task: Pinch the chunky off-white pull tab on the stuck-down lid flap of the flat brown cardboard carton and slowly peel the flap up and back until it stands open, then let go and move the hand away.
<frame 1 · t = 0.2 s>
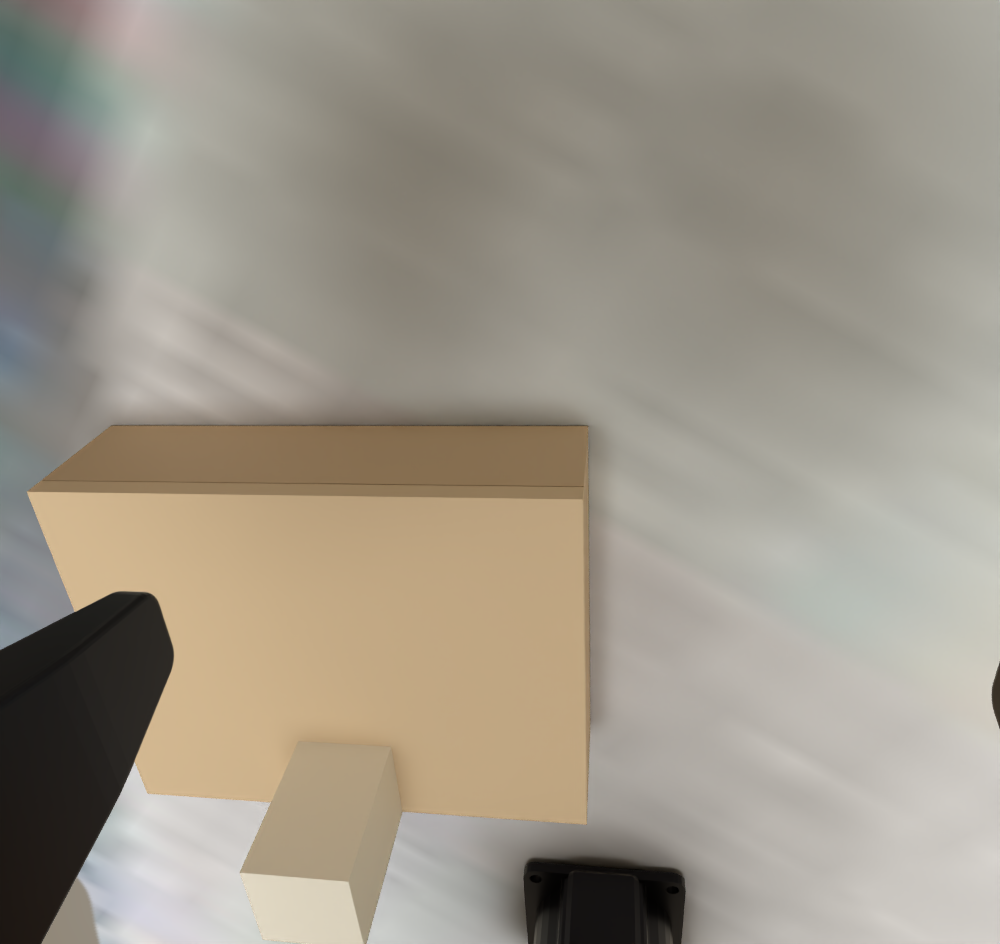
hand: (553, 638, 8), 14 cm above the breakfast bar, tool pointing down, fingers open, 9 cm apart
carton: (367, 585, 27), on the breakfast bar
lid flap: (306, 721, 22), point 6 cm above the breakfast bar, hinge at 0.0°
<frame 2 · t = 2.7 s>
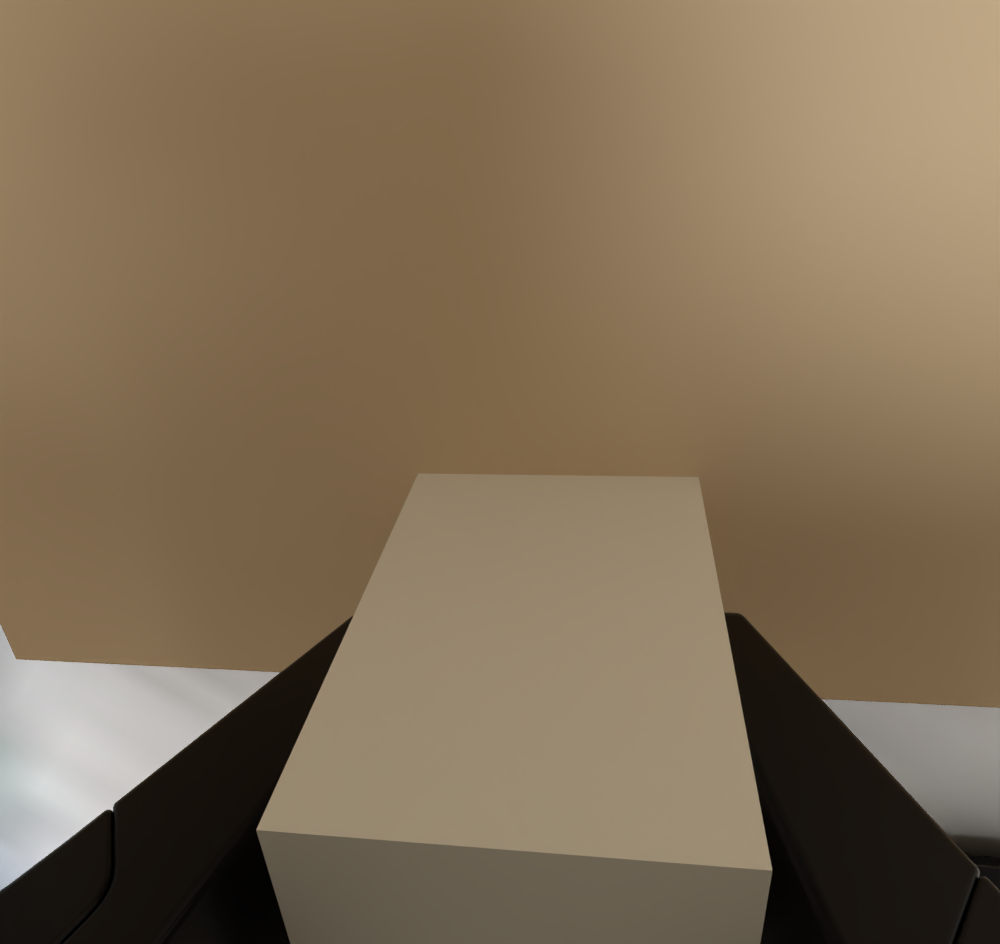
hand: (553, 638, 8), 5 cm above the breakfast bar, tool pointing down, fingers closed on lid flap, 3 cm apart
lid flap: (525, 224, 5), point 6 cm above the breakfast bar, hinge at 0.0°, touching gripper
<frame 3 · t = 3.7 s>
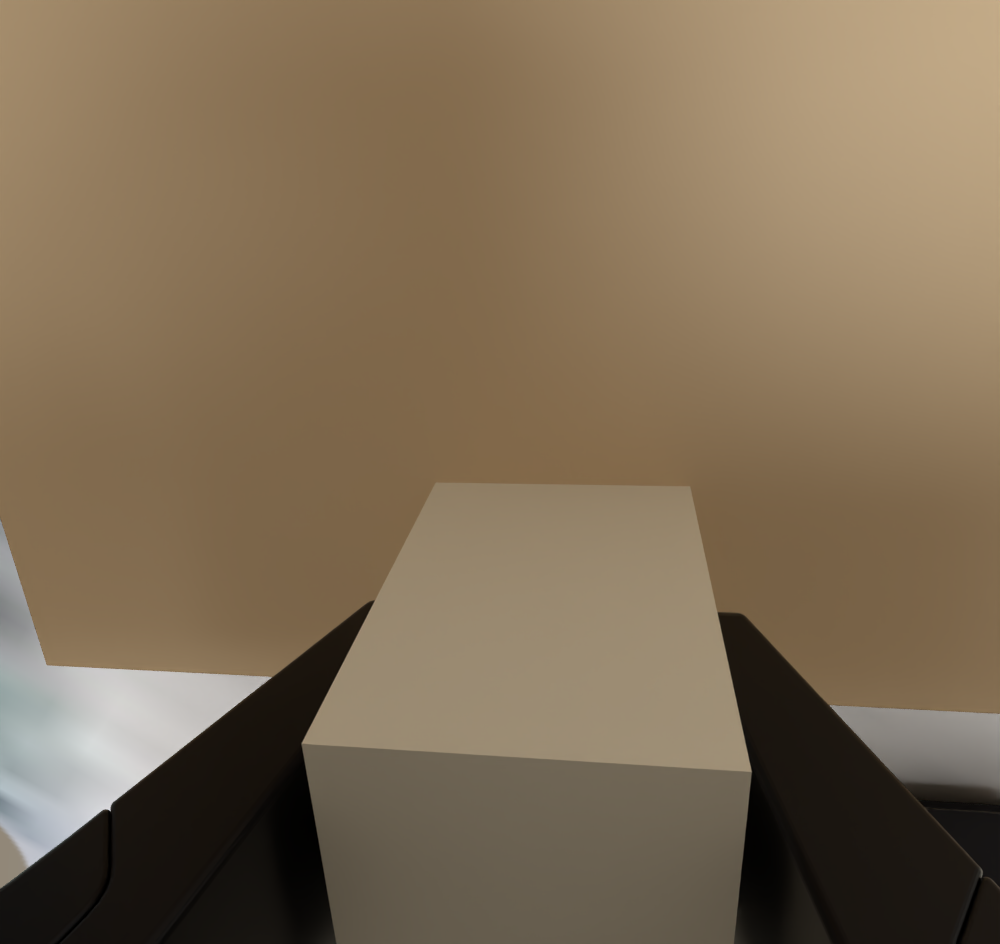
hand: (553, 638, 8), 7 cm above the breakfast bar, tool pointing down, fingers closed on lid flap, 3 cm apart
lid flap: (540, 242, 6), point 7 cm above the breakfast bar, hinge at 6.2°, touching gripper
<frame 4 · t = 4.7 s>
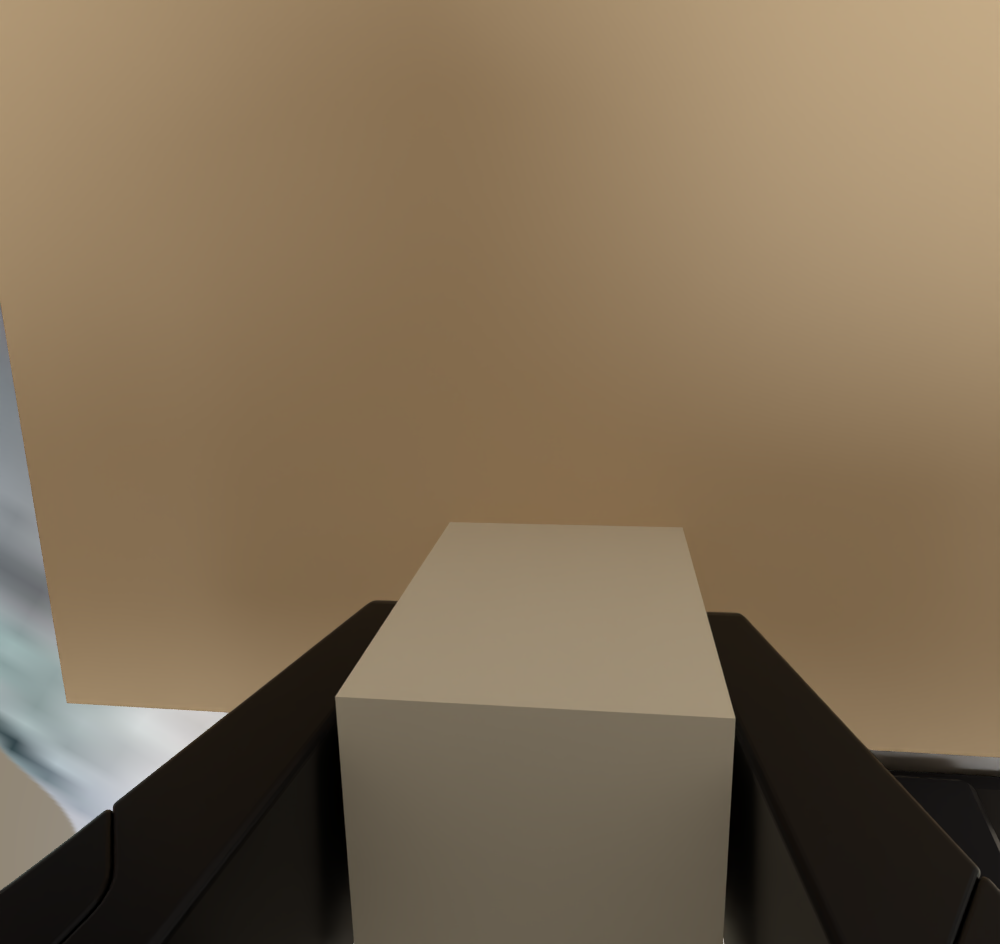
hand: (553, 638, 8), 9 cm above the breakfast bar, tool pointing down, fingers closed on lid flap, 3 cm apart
lid flap: (551, 288, 8), point 8 cm above the breakfast bar, hinge at 15.3°, touching gripper
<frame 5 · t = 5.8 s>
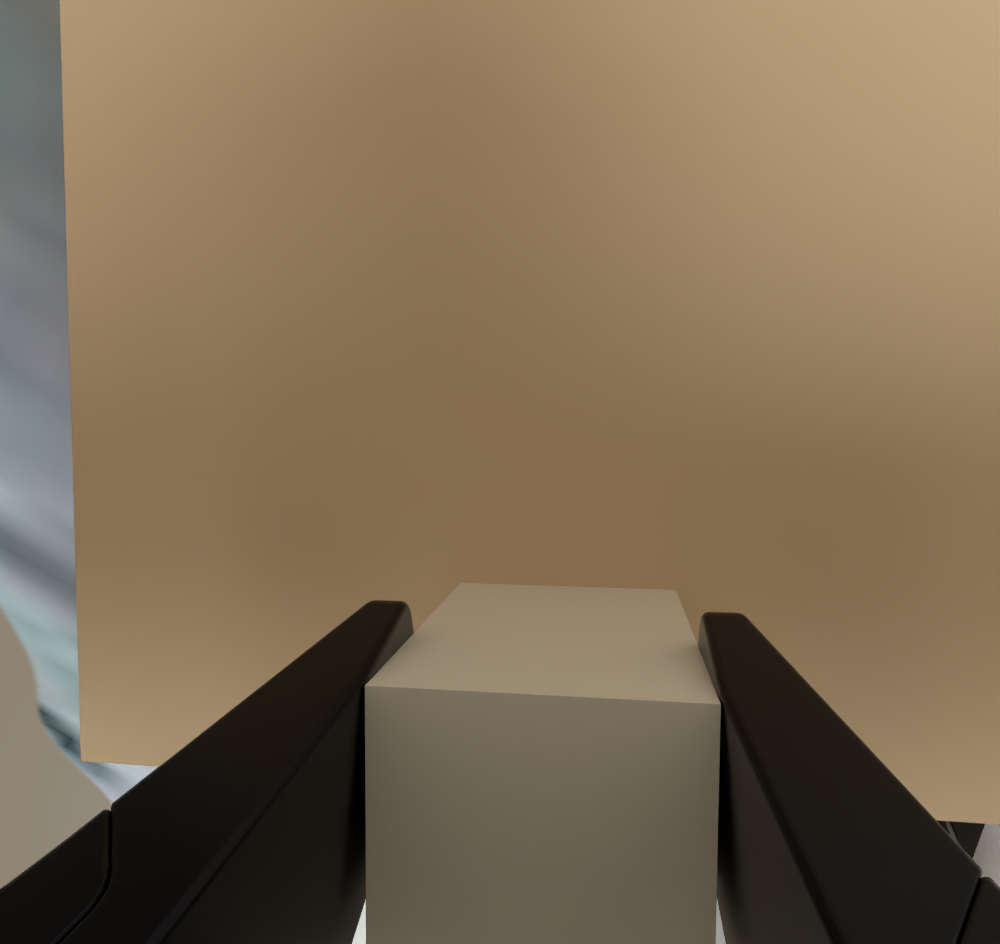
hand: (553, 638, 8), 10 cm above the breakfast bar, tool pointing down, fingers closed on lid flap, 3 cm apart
lid flap: (559, 359, 9), point 8 cm above the breakfast bar, hinge at 25.7°, touching gripper
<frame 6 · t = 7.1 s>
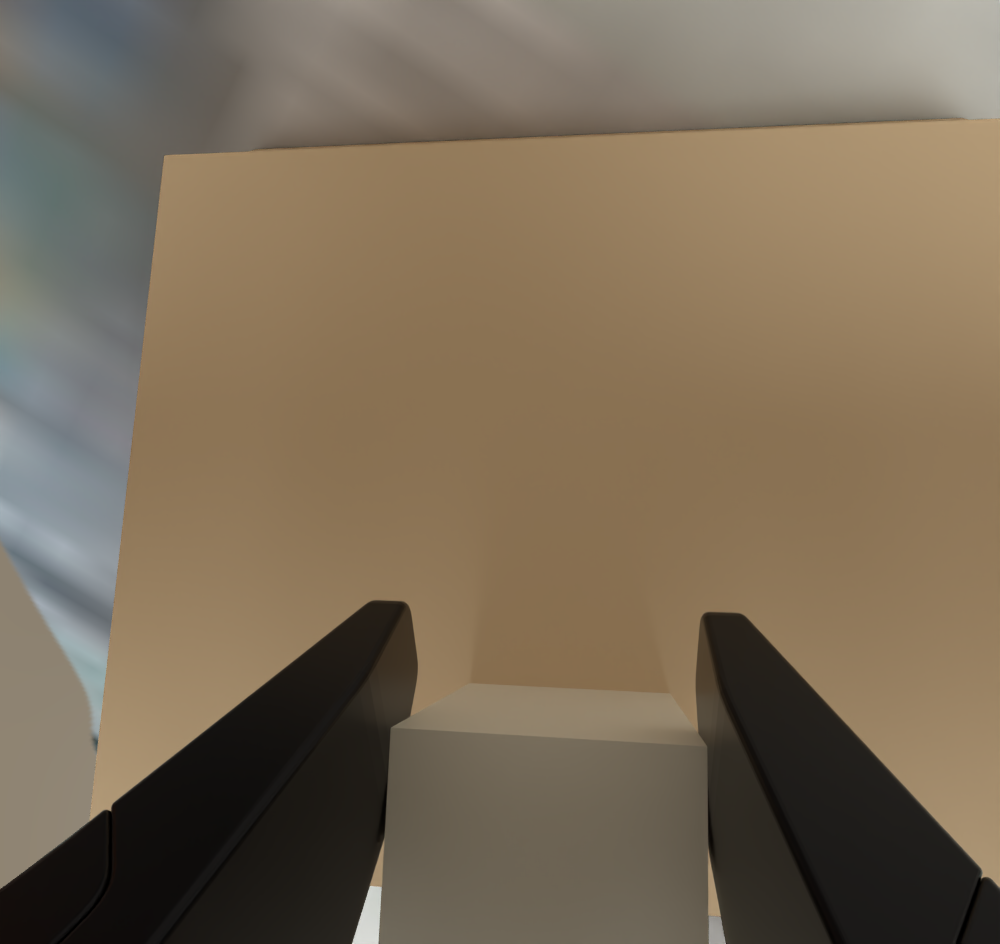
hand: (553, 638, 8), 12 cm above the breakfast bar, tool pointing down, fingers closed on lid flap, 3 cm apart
carton: (587, 392, 20), on the breakfast bar
lid flap: (565, 469, 10), point 9 cm above the breakfast bar, hinge at 38.6°, touching gripper
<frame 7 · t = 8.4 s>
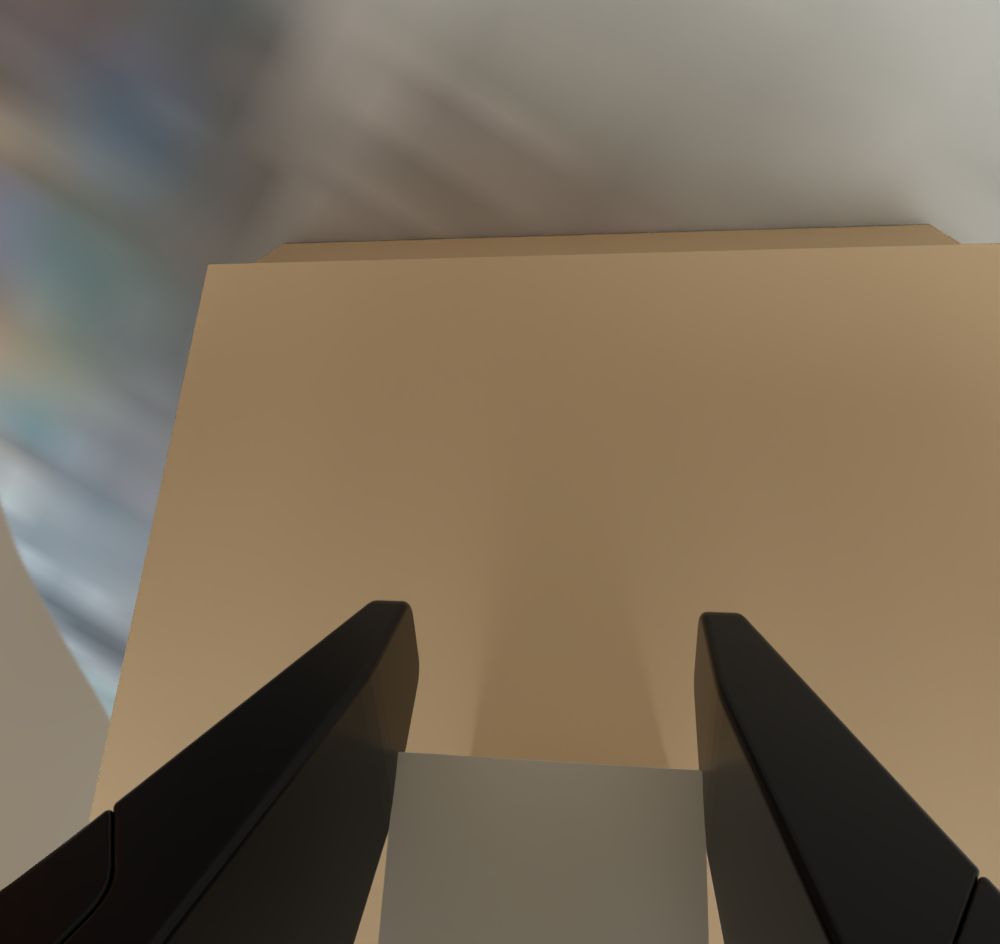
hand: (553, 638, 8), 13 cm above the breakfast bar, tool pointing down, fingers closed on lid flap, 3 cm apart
carton: (589, 460, 21), on the breakfast bar
lid flap: (567, 534, 11), point 10 cm above the breakfast bar, hinge at 48.8°, touching gripper
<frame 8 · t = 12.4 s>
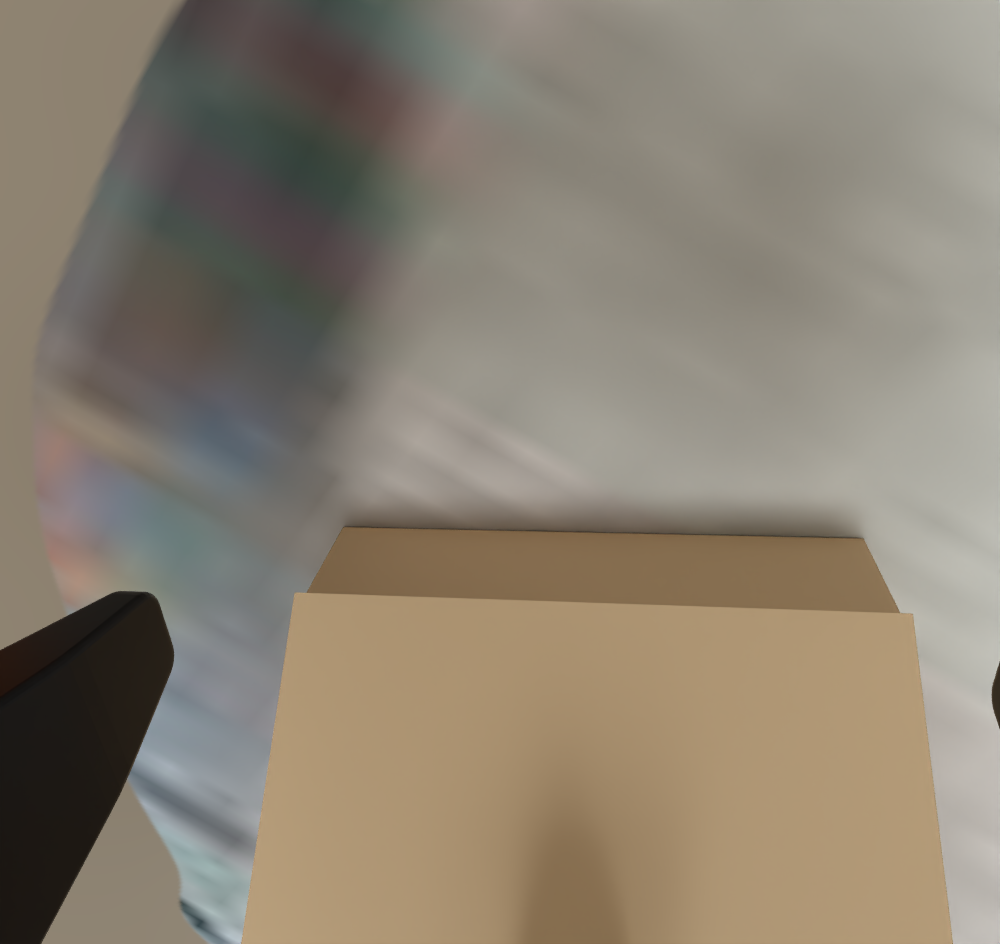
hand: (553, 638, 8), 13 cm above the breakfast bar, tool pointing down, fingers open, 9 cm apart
carton: (591, 687, 26), on the breakfast bar
lid flap: (577, 886, 16), point 10 cm above the breakfast bar, hinge at 49.1°
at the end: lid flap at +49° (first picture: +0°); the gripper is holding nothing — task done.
